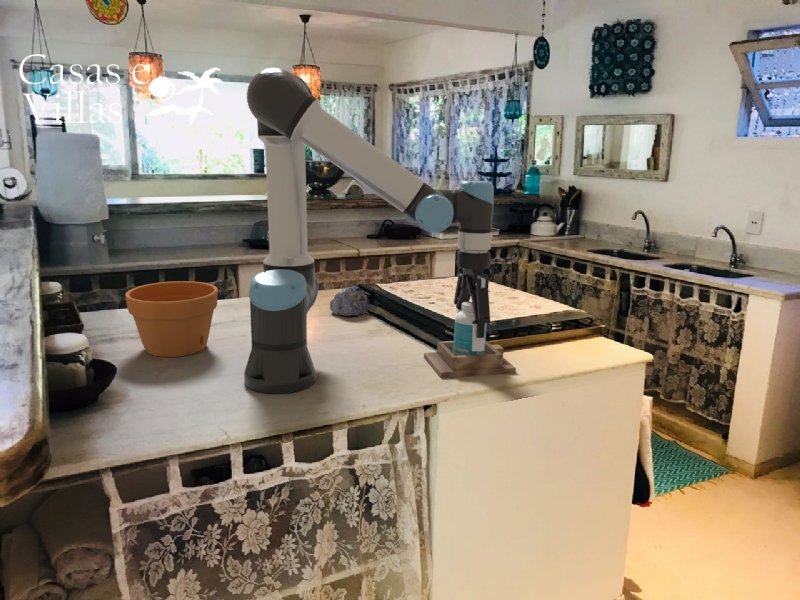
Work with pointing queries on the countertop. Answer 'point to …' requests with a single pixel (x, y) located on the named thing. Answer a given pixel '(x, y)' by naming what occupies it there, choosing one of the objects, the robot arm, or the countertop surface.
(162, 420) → the countertop surface
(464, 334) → the pill bottle
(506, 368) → the wooden tray
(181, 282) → the flower pot
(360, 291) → the rock
